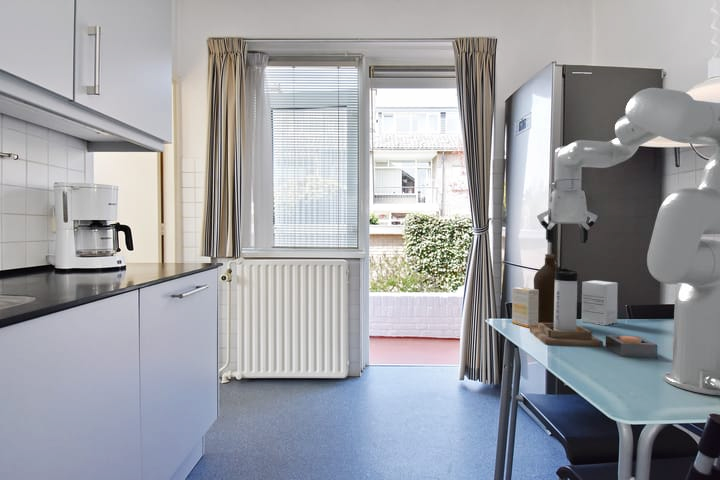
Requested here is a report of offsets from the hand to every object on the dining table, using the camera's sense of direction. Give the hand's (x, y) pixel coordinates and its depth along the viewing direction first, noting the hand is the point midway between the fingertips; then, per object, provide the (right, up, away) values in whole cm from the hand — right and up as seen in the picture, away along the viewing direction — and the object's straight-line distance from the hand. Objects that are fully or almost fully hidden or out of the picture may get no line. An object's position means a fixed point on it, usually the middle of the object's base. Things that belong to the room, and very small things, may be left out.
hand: (566, 242), depth 131 cm
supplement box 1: (-5, -30, +19) cm, 36 cm away
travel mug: (0, -29, +1) cm, 29 cm away
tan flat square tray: (0, -30, +1) cm, 30 cm away
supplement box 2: (+25, -30, +26) cm, 47 cm away
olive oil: (+5, -30, +24) cm, 39 cm away
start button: (+11, -29, -14) cm, 34 cm away
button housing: (+11, -30, -14) cm, 35 cm away
